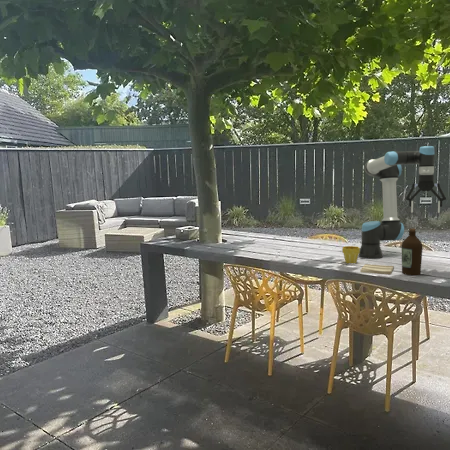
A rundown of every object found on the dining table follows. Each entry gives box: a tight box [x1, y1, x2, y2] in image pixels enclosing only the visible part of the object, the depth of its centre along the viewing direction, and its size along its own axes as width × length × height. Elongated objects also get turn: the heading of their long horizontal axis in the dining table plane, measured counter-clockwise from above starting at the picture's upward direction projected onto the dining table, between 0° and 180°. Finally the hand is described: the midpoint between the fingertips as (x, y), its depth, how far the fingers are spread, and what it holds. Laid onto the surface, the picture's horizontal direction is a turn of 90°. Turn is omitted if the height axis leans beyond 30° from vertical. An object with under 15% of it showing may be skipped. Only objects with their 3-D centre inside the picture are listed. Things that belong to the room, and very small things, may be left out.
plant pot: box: [341, 245, 361, 264], centre depth 268 cm, size 10×10×10 cm
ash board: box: [360, 263, 395, 276], centre depth 246 cm, size 16×16×2 cm
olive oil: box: [400, 228, 423, 277], centre depth 234 cm, size 11×11×25 cm
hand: (425, 212), depth 240 cm, fingers open, 13 cm apart
